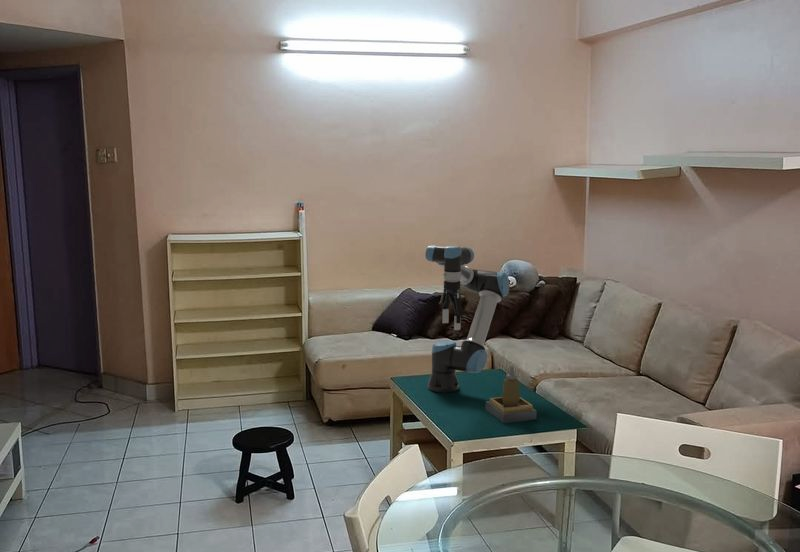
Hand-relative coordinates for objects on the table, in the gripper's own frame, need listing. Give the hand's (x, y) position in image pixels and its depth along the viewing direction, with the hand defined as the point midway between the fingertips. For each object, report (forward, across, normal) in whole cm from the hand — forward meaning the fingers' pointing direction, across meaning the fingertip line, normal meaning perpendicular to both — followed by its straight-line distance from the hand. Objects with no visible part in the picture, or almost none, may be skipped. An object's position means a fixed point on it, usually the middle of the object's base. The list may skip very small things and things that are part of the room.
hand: (451, 326), depth 357 cm
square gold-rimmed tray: (+37, +22, +20) cm, 47 cm away
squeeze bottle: (+33, +22, +20) cm, 44 cm away
